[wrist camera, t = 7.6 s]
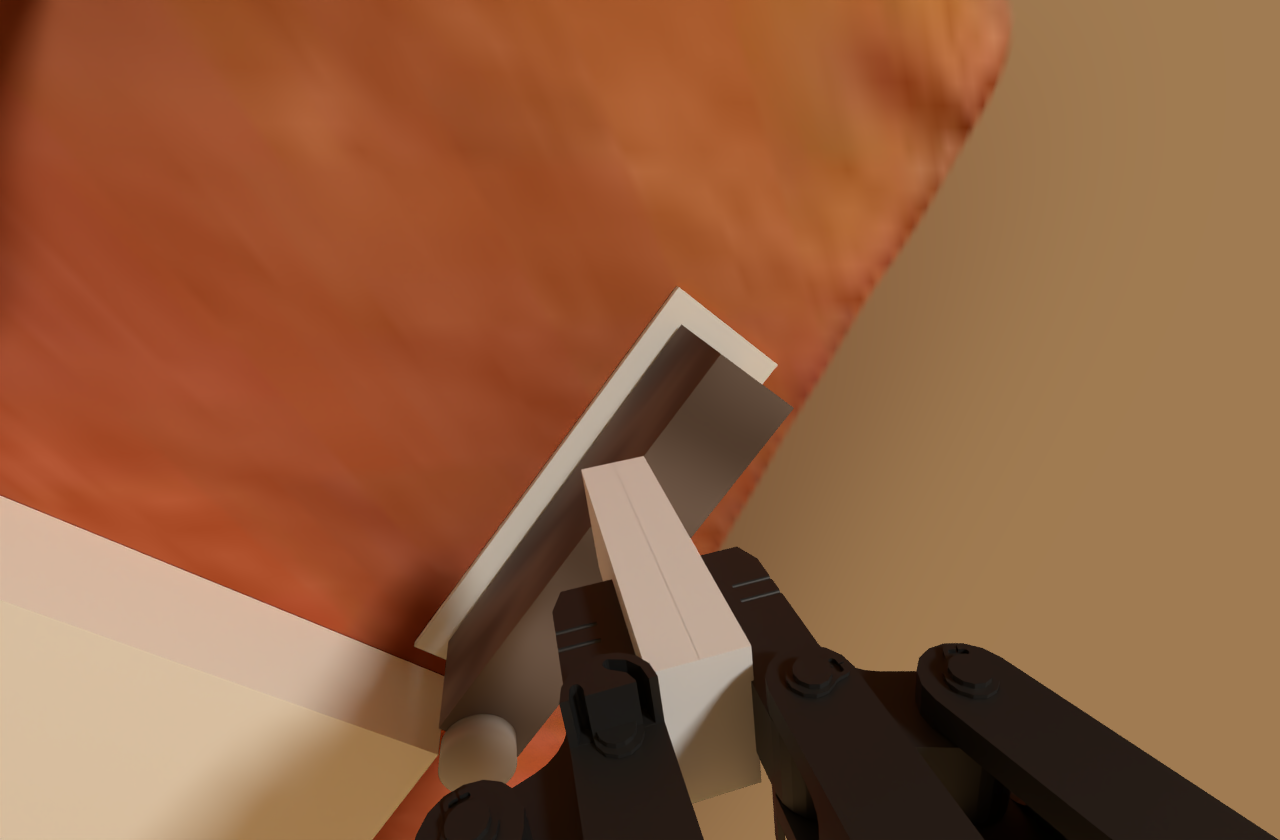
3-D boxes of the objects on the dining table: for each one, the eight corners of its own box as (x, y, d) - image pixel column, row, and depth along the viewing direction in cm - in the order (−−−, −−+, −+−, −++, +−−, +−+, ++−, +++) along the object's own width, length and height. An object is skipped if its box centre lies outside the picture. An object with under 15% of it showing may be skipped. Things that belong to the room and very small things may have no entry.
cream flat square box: (-343, 875, 23) (-506, 1008, 19) (-123, 446, 19) (-266, 505, 16) (219, 977, 30) (180, 1087, 26) (446, 677, 27) (438, 754, 23)
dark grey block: (497, 691, 27) (497, 806, 22) (431, 664, 26) (414, 779, 21) (743, 370, 24) (807, 418, 19) (681, 324, 23) (732, 362, 18)
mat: (414, 641, 26) (413, 646, 26) (676, 285, 23) (678, 287, 23) (520, 686, 28) (520, 691, 27) (774, 362, 25) (777, 364, 25)
